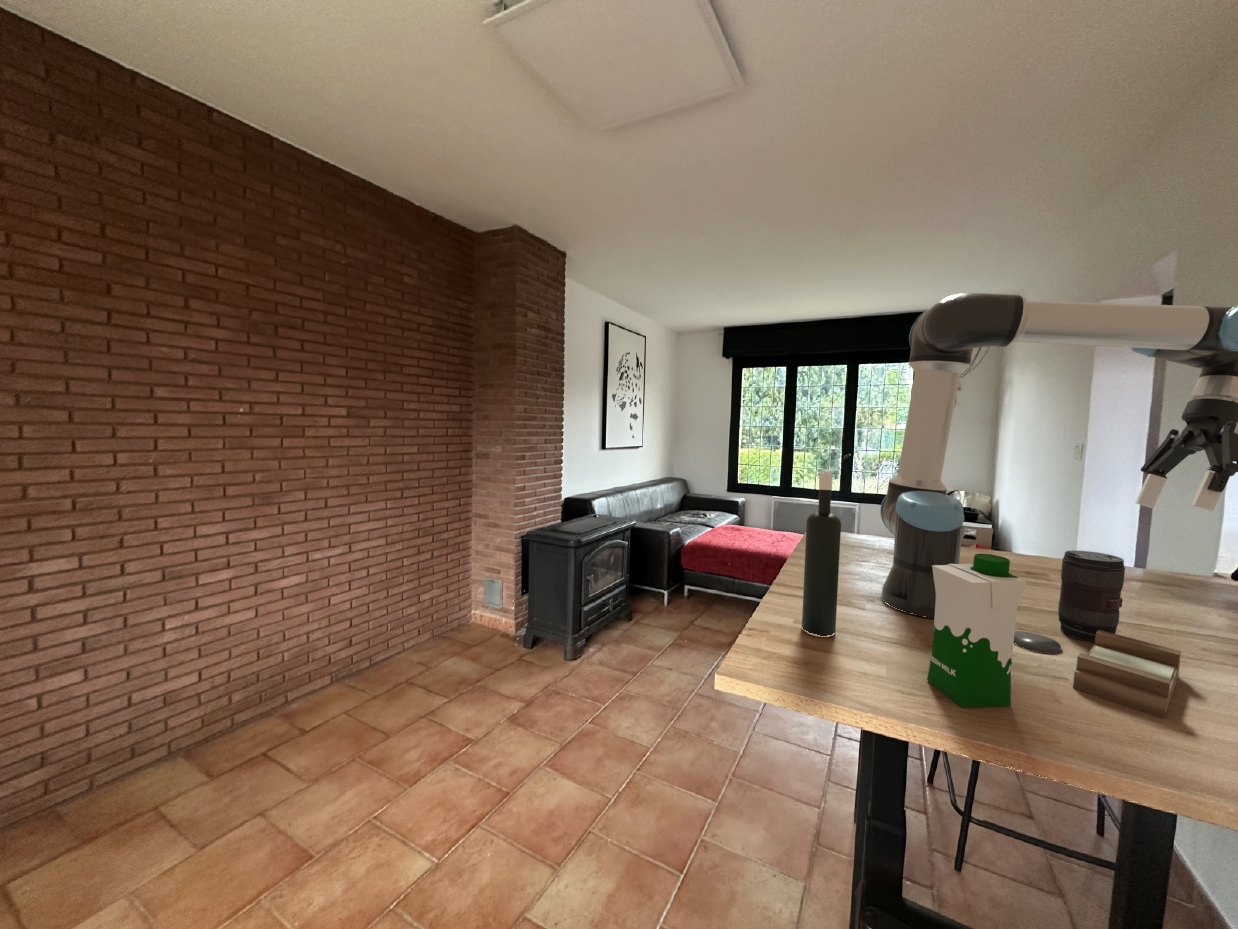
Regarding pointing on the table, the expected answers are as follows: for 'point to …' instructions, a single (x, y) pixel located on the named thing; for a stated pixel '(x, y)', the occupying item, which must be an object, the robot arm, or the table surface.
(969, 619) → the milk carton
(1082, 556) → the camera lens
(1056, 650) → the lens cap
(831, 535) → the wine bottle
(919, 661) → the table surface
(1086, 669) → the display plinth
